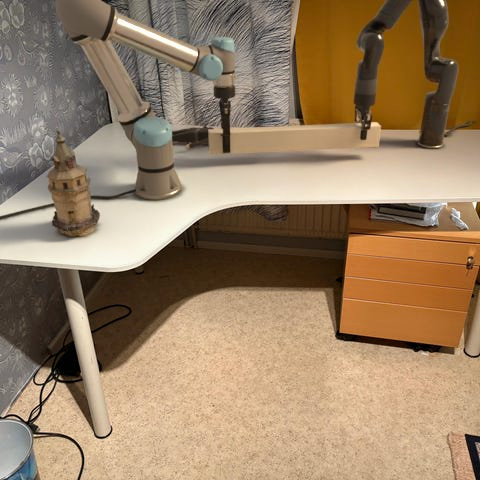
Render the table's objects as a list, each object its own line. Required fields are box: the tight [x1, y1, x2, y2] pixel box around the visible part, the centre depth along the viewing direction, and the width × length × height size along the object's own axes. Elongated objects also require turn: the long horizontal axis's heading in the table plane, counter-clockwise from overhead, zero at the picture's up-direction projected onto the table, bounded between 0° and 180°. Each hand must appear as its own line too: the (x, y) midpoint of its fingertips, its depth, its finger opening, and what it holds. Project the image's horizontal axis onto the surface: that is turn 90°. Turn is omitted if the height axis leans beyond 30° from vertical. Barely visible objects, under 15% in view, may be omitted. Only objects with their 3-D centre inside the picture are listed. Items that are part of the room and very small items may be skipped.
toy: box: [172, 124, 215, 150], centre depth 219 cm, size 26×6×30 cm
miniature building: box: [46, 129, 101, 237], centre depth 148 cm, size 13×14×30 cm
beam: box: [208, 121, 382, 156], centre depth 196 cm, size 62×5×8 cm, turn 95°
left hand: (226, 149), depth 196 cm, fingers closed on beam, 5 cm apart
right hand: (360, 137), depth 198 cm, fingers closed on beam, 5 cm apart
